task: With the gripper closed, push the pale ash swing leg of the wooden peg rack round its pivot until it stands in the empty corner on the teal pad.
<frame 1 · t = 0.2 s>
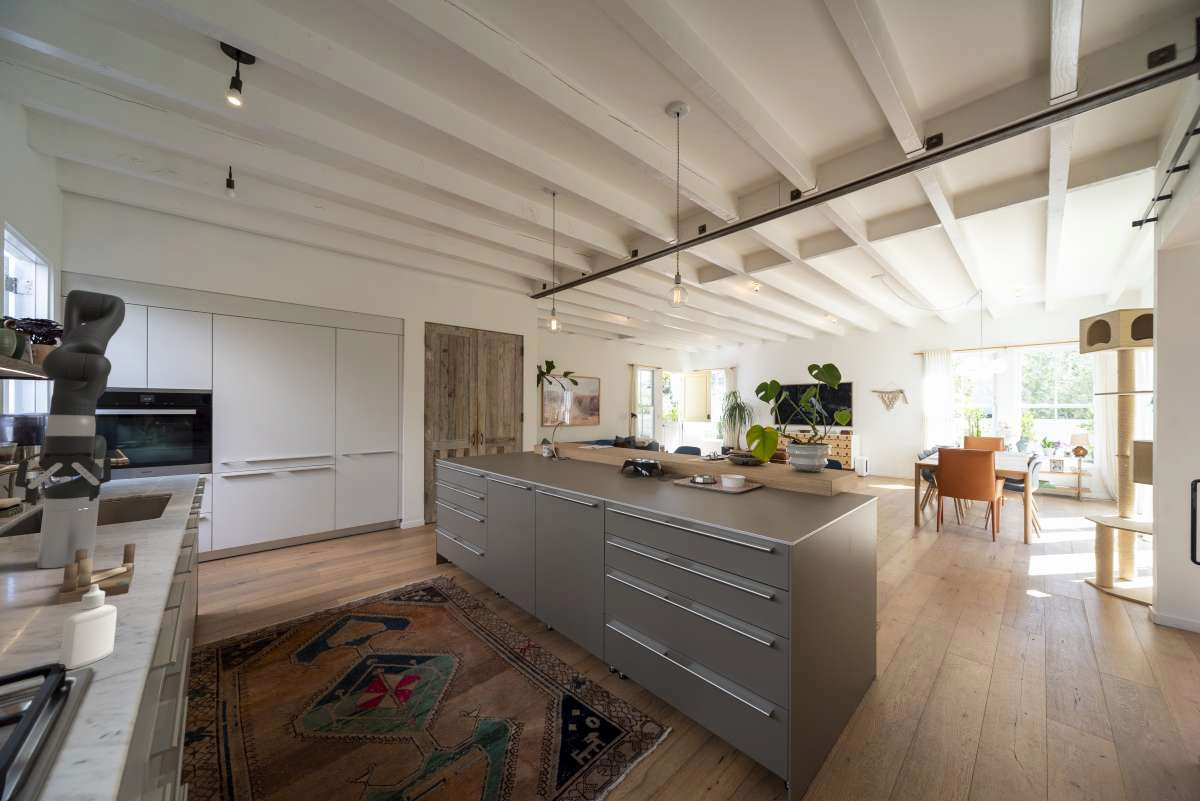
hand: (63, 502, 102), 18 cm above the worktop, tool pointing down, fingers open, 8 cm apart
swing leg: (107, 565, 97), point 5 cm above the worktop, hinge at -40.0°
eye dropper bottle: (86, 662, 69), on the worktop
wooden peg rack: (99, 587, 97), on the worktop
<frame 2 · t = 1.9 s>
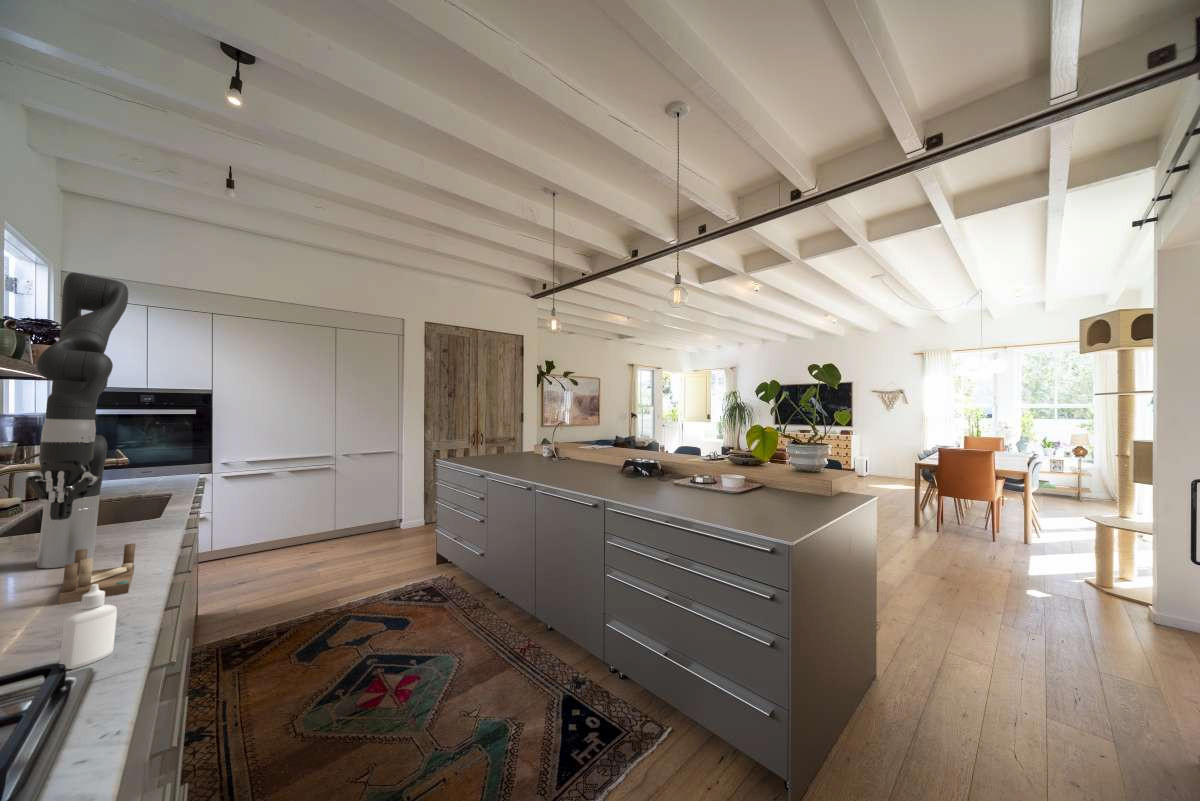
hand: (60, 519, 94), 16 cm above the worktop, tool pointing down, fingers closed
nothing on the worktop moved.
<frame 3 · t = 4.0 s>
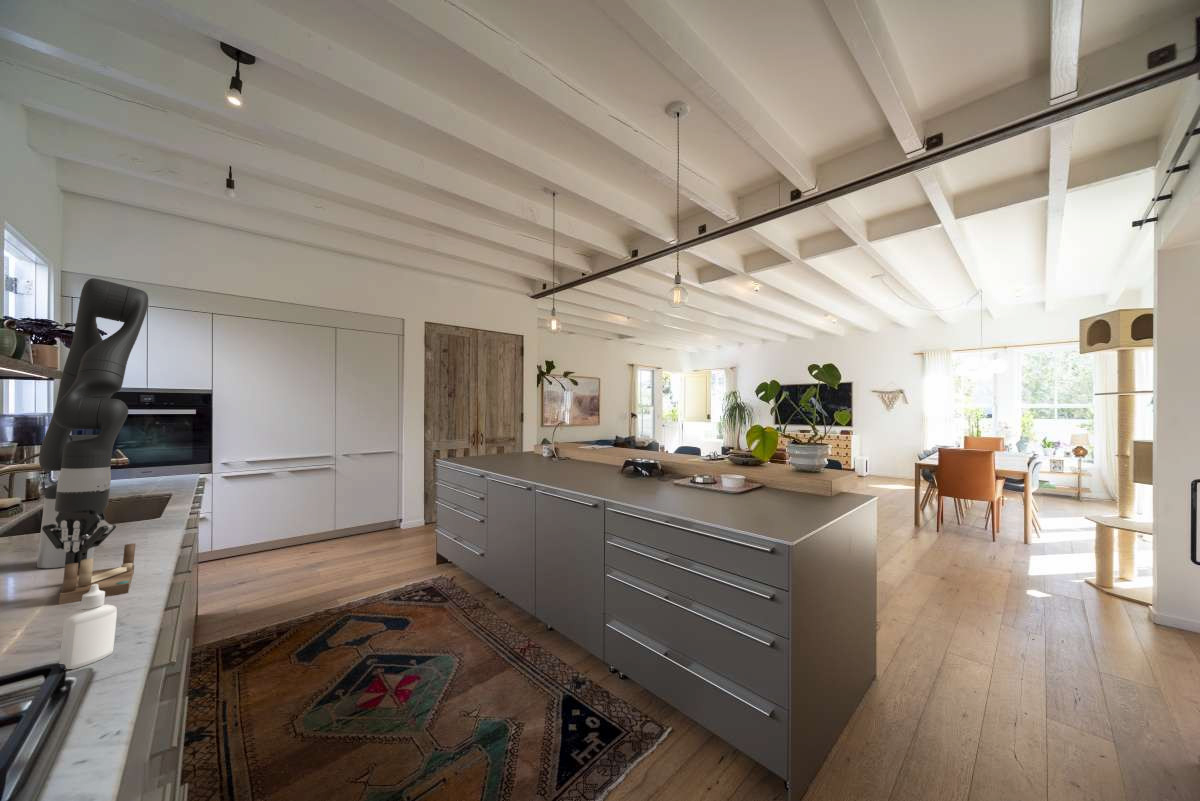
hand: (75, 568, 93), 6 cm above the worktop, tool pointing down, fingers closed
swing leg: (107, 565, 97), point 5 cm above the worktop, hinge at -39.4°, touching gripper
everything else where it was.
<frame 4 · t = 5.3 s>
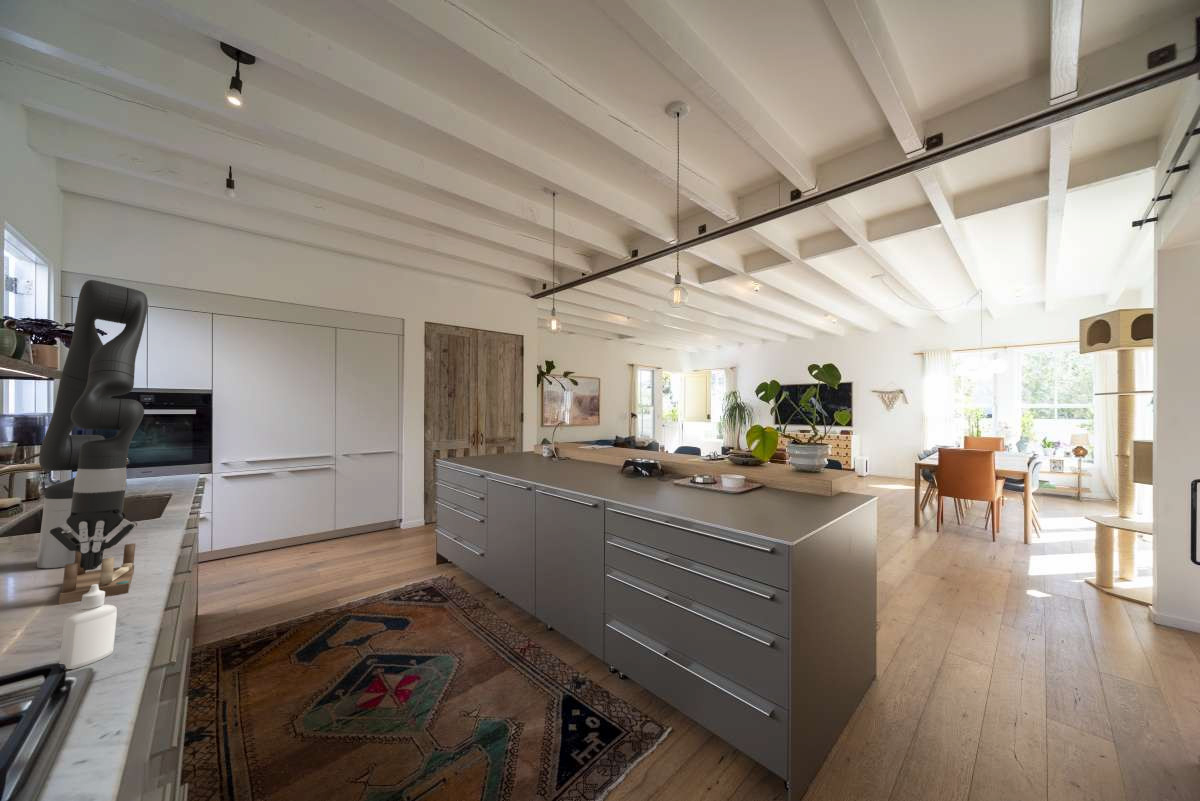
hand: (90, 568, 93), 6 cm above the worktop, tool pointing down, fingers closed
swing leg: (117, 564, 98), point 5 cm above the worktop, hinge at -16.4°, touching gripper
everything else where it was.
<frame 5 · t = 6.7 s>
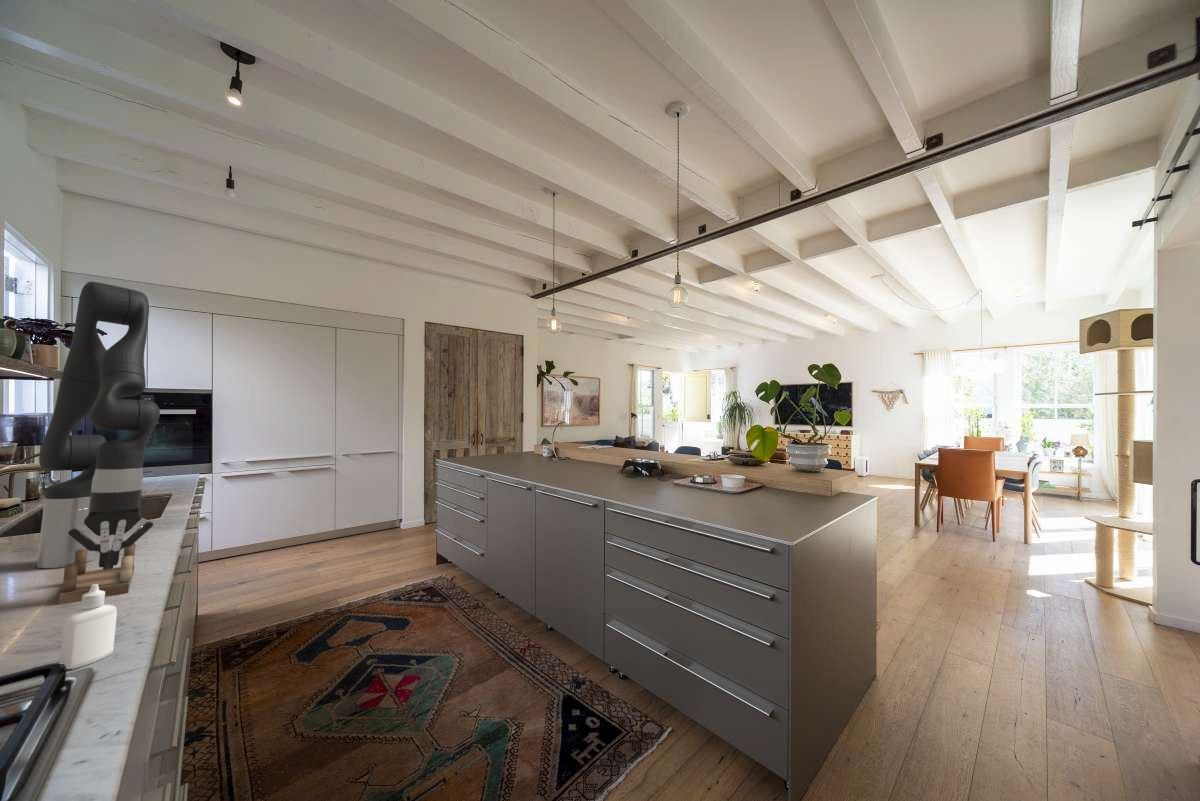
hand: (108, 568, 94), 6 cm above the worktop, tool pointing down, fingers closed
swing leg: (127, 563, 99), point 5 cm above the worktop, hinge at 2.2°, touching gripper
everything else where it was.
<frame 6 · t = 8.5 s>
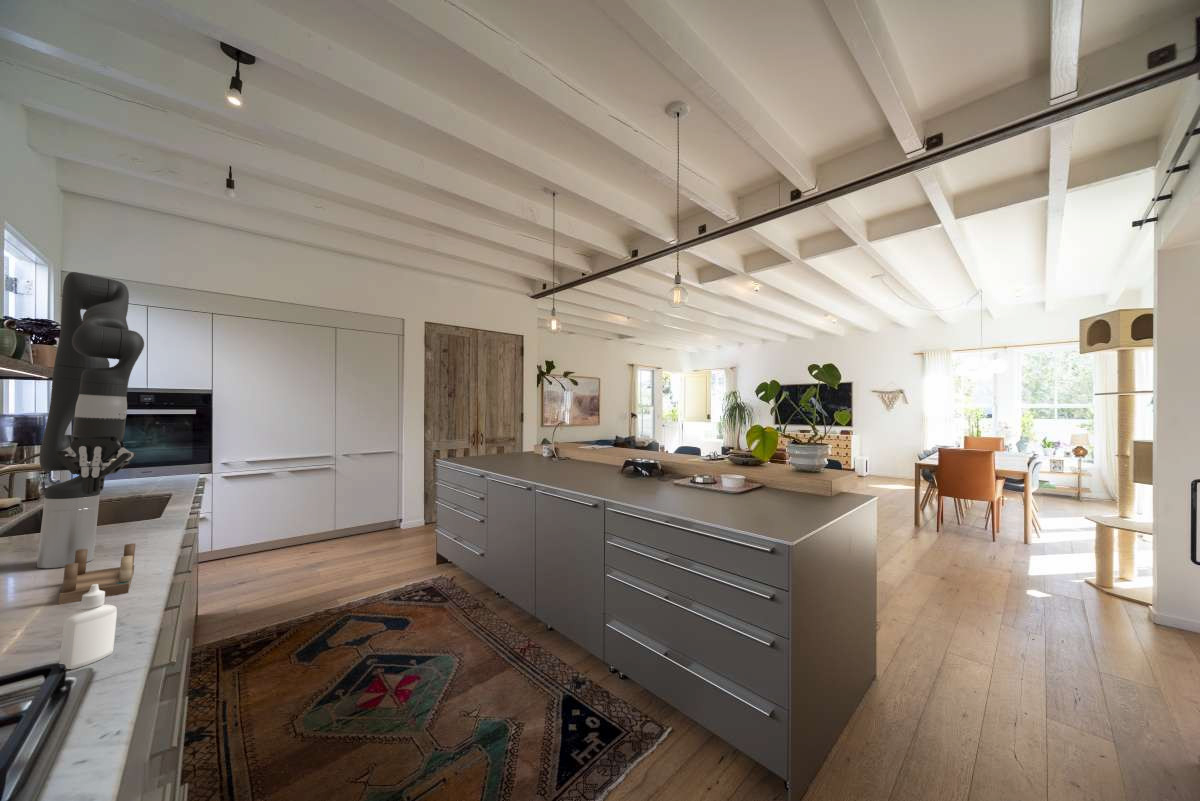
hand: (92, 493, 95), 22 cm above the worktop, tool pointing down, fingers closed
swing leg: (126, 563, 99), point 5 cm above the worktop, hinge at 1.8°
everything else where it was.
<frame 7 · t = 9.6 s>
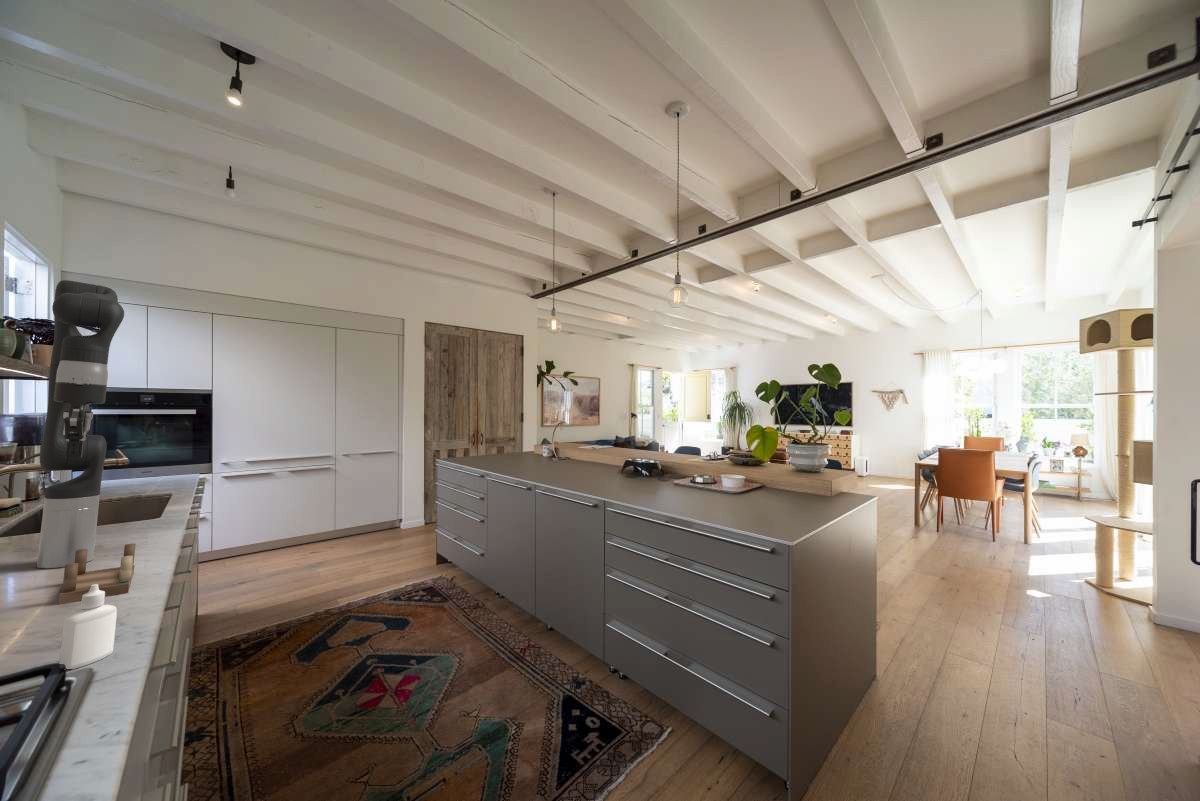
hand: (73, 458, 97), 29 cm above the worktop, tool pointing down, fingers closed
nothing on the worktop moved.
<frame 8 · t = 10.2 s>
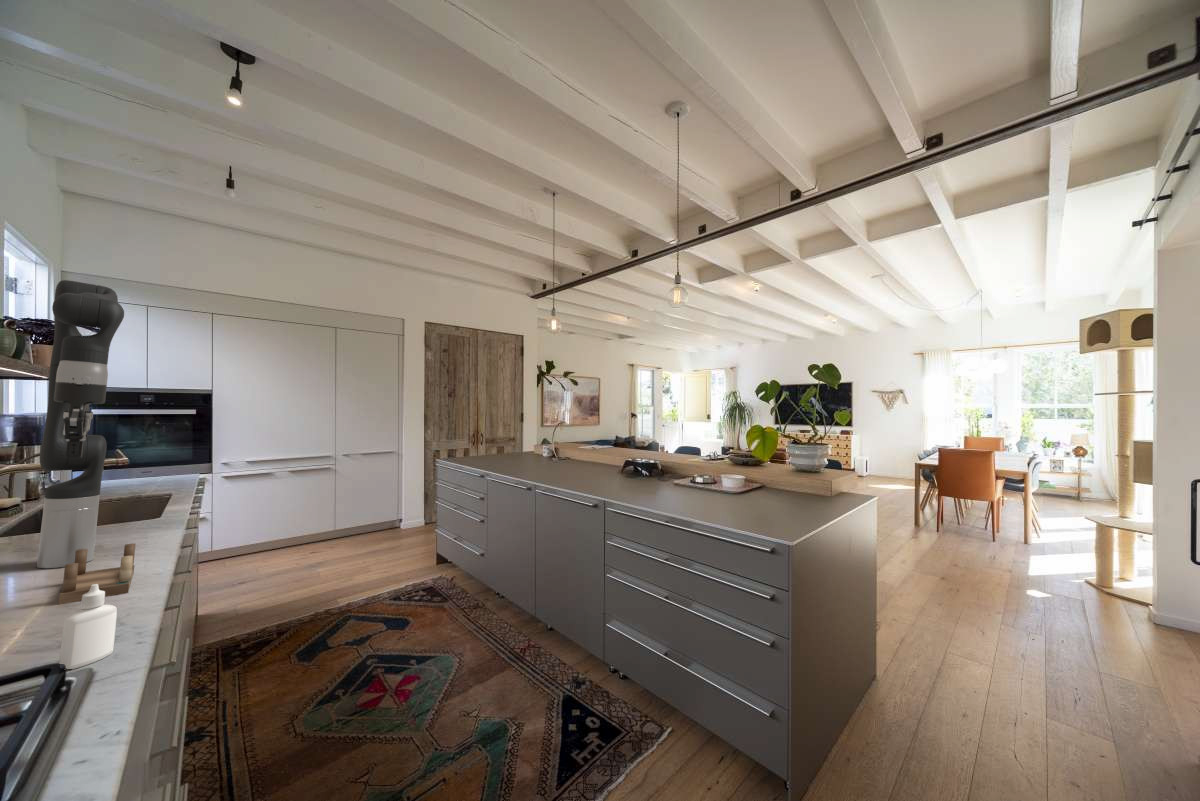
hand: (73, 458, 97), 29 cm above the worktop, tool pointing down, fingers closed
nothing on the worktop moved.
at the end: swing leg at +2° (first picture: -40°) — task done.
